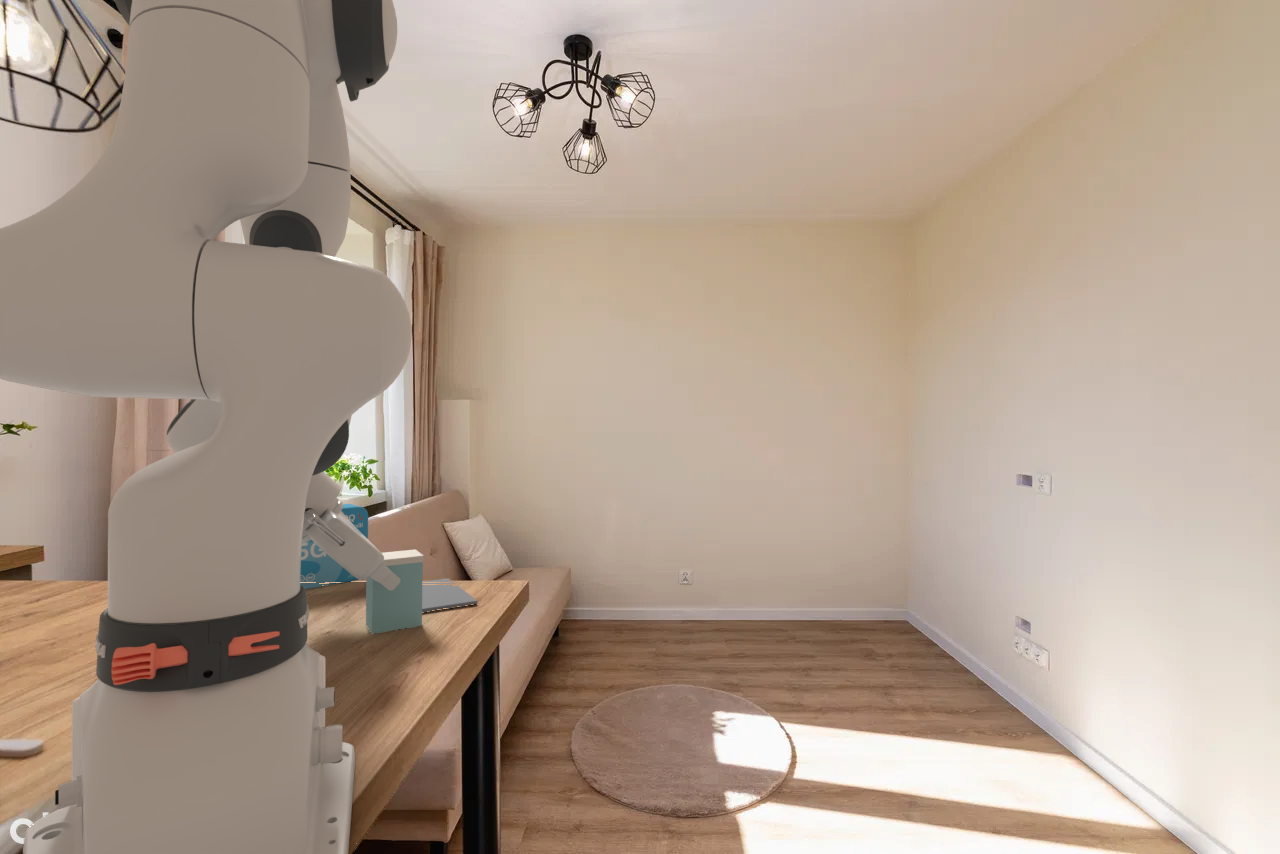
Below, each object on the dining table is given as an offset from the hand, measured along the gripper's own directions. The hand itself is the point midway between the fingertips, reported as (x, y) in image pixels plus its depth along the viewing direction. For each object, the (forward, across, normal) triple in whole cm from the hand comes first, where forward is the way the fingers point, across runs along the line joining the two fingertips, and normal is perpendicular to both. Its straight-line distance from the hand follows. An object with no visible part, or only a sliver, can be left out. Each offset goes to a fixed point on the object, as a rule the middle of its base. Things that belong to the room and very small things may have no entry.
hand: (387, 575), depth 80 cm
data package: (+2, +26, +8) cm, 27 cm away
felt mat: (+10, +9, 0) cm, 13 cm away
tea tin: (+5, 0, +4) cm, 7 cm away
